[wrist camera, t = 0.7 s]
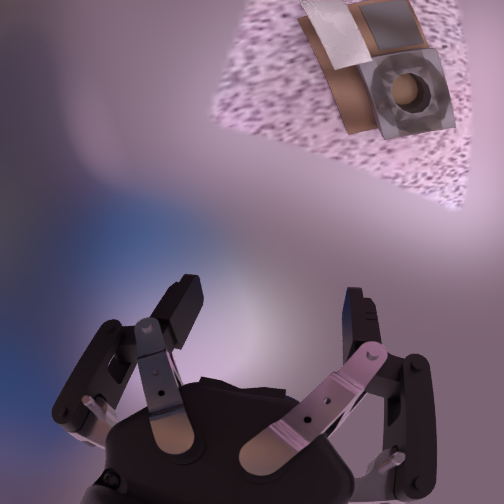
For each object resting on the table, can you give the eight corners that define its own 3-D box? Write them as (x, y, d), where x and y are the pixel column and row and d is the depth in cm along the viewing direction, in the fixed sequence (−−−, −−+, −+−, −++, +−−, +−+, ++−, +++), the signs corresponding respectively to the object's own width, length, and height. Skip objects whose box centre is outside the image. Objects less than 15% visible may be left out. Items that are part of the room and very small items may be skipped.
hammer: (308, 15, 21) (296, -4, 13) (333, 8, 20) (335, -15, 11) (333, 65, 25) (334, 69, 17) (358, 59, 23) (372, 60, 15)
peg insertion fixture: (298, 21, 23) (291, 13, 18) (402, -2, 16) (418, -12, 12) (347, 130, 31) (350, 147, 27) (442, 111, 25) (463, 126, 20)
